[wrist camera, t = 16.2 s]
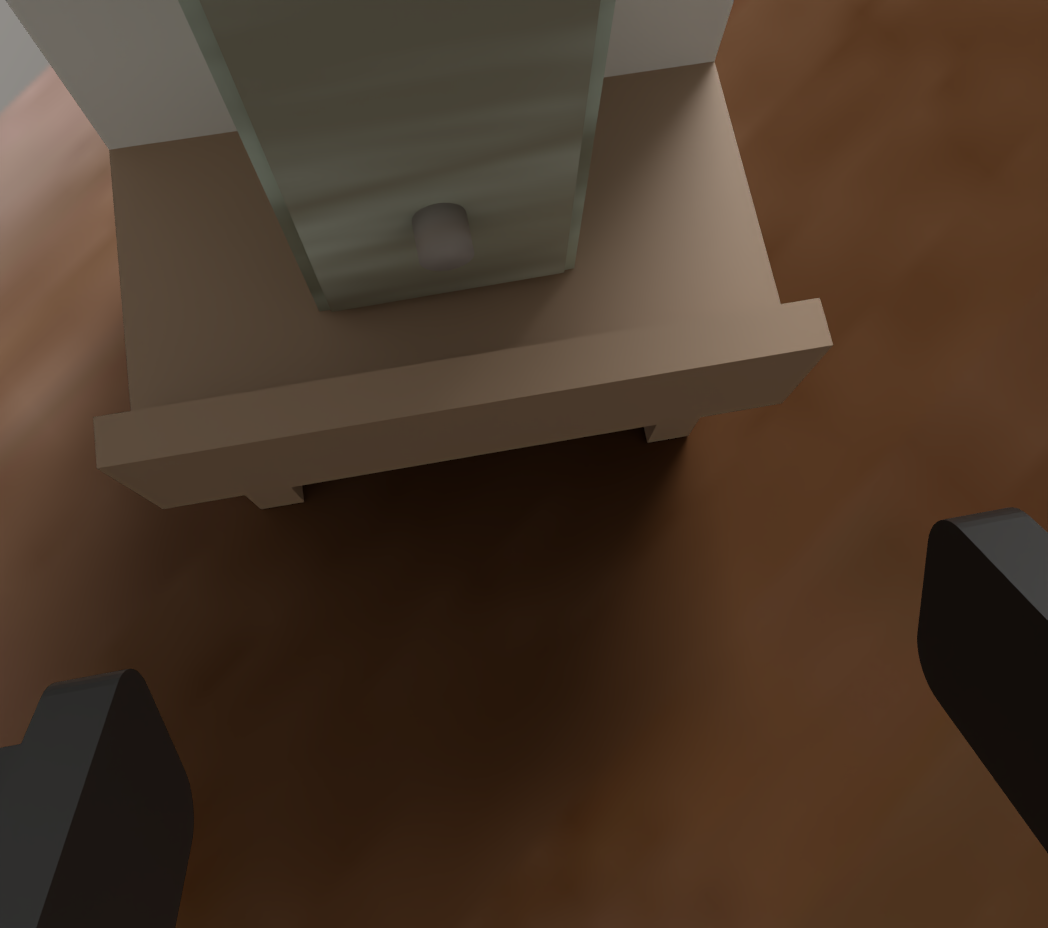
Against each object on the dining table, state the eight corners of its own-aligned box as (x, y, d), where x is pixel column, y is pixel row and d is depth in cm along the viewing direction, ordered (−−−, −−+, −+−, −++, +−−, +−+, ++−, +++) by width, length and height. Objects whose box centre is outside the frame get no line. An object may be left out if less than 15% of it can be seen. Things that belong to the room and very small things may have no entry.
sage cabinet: (584, 311, 21) (654, -50, 11) (326, 356, 20) (163, 23, 11) (533, 93, 22) (557, -398, 12) (292, 131, 22) (119, -346, 12)
